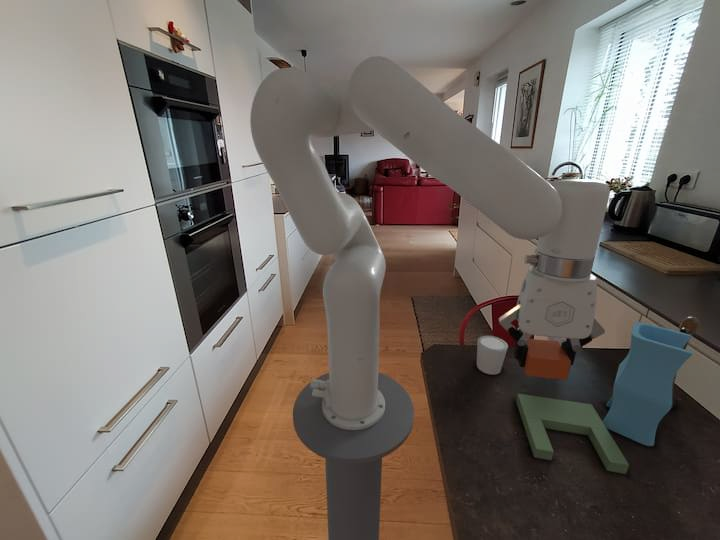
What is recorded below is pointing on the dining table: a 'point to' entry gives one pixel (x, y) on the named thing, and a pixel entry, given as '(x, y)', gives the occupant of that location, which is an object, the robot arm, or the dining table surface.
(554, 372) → the orange block
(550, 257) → the robot arm
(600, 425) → the green flat bent piece
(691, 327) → the wooden tabletop sculpture
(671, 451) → the dining table surface
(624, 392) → the vase
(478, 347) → the shot glass
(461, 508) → the dining table surface
